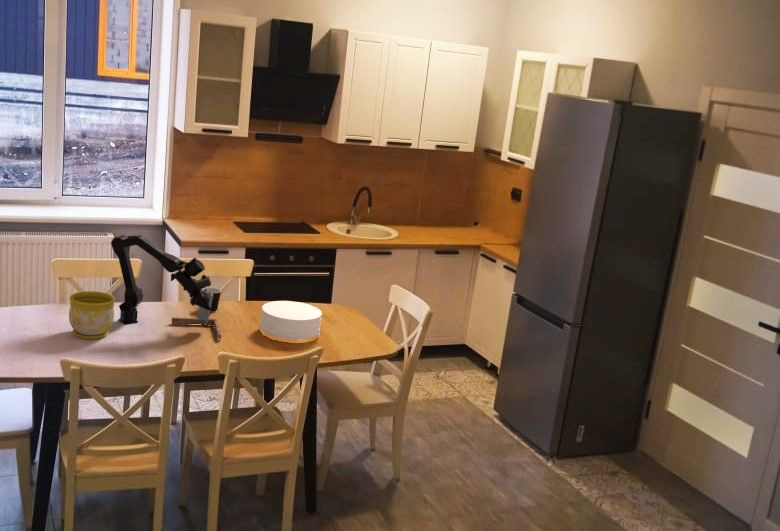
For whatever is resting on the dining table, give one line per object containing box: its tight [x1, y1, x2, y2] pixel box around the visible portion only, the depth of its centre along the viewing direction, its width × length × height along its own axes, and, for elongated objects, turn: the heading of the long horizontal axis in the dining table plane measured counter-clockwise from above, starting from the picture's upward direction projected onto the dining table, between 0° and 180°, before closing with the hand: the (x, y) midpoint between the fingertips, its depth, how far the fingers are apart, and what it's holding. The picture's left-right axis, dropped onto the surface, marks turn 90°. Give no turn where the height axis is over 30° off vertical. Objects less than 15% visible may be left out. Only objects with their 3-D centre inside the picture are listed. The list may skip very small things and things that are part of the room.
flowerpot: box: [68, 290, 116, 340], centre depth 334 cm, size 18×18×16 cm
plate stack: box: [259, 300, 323, 340], centre depth 372 cm, size 28×28×12 cm
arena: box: [171, 317, 222, 340], centre depth 356 cm, size 21×20×3 cm
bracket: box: [196, 291, 213, 323], centre depth 356 cm, size 5×5×13 cm
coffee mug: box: [202, 287, 222, 312], centre depth 390 cm, size 12×9×10 cm
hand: (210, 307), depth 356 cm, fingers closed on bracket, 5 cm apart
